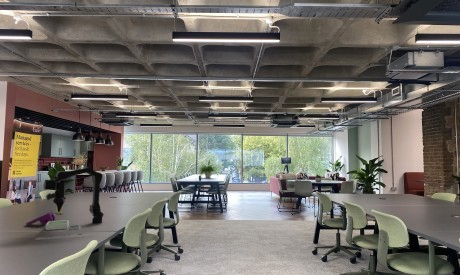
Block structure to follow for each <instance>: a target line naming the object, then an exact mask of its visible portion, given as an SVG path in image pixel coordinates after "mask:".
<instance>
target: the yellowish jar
mask: <svg viewBox="0 0 460 275" xmlns="http://www.w3.org/2000/svg"><path fill="white" fill-rule="evenodd" d="M55 210H56V211H55V216H62V215H63V207H62V208H61V210H60V212H58V210H57V206H56V208H55Z"/></svg>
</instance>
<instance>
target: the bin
mask: <svg viewBox="0 0 460 275" xmlns="http://www.w3.org/2000/svg"><path fill="white" fill-rule="evenodd" d="M69 226H70V220H69V219H67V220H66V219H65V220H55V221H49V222H48V223H47V224H46V225H45V230H46V231H49V230H51V231H52V230H64V229H65V230H66V229H68V228H69Z"/></svg>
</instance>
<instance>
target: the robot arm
mask: <svg viewBox="0 0 460 275" xmlns="http://www.w3.org/2000/svg"><path fill="white" fill-rule="evenodd" d="M83 174H87V175H88V176H90V177H91V179H92V180H91V181H92V184H93V189H92V203H91V205H90V204H89V209H88V211H89V213H90V214H91V216H92V219H91V222H92V224H96V225H97V224H102V223H103V217H104V216H105V214H104V213H103V212H102V210H101V205H100V187H101V183H102V179H103V174H102V172H99V171H98V172H97V171H96V170H94V169H92V168H91V167H88V166H87V167H84V168H76V169H73V170H61V171H60V170H59V171H57V172H56V173H55V176H54V177H53V178H52V179H44V182H43V185H42V186H43V187H42V188H43V190H45V191H47V190H54V189H55V191H54V192H52V193H47V195H45V197H46V200H47V201H49V200H51V199H53V200H52V201H53V203H54V204H55V206H56V207H57V210H58V212H60V210H61V208H62V209H63V205H64V203H65V202H66V199H67V197H66V195H65V194H66V183H67V184H68V183H69V181H68V180H67V179H68V178H71V177H73V176H77V175H83Z"/></svg>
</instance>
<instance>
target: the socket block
mask: <svg viewBox="0 0 460 275" xmlns="http://www.w3.org/2000/svg"><path fill="white" fill-rule="evenodd" d="M81 227H82V226H80V224H75V225H73V224H72V225H70V224H69V226H68V228H67V231H70V230H71V231H72V230H81Z"/></svg>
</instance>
